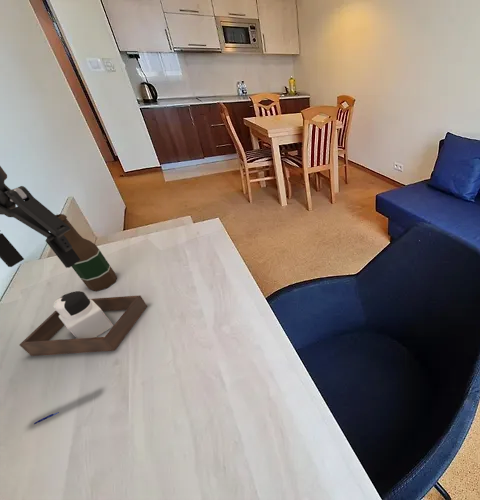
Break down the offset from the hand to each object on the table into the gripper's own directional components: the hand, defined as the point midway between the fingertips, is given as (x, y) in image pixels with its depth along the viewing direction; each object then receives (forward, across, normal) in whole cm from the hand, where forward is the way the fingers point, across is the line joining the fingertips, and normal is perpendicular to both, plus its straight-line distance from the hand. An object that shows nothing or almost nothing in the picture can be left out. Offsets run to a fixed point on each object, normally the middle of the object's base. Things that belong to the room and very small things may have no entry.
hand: (44, 263), depth 63 cm
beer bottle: (+24, +18, -20) cm, 36 cm away
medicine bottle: (+24, +5, -2) cm, 25 cm away
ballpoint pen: (+24, -7, +18) cm, 30 cm away
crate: (+24, +5, -2) cm, 24 cm away
